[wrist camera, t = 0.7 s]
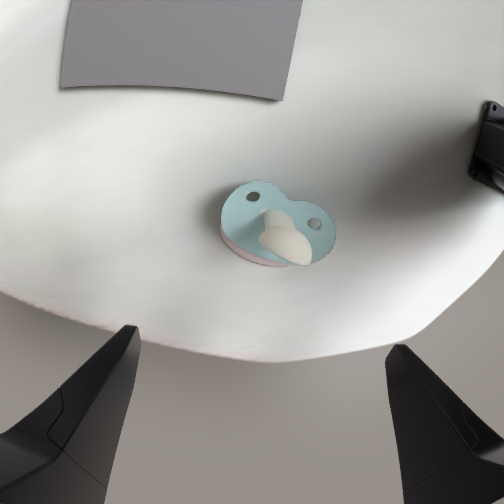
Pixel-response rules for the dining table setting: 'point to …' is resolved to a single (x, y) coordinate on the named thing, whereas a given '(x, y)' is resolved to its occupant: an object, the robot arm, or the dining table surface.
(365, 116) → the dining table surface
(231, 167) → the dining table surface
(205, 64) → the mat
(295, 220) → the pacifier
